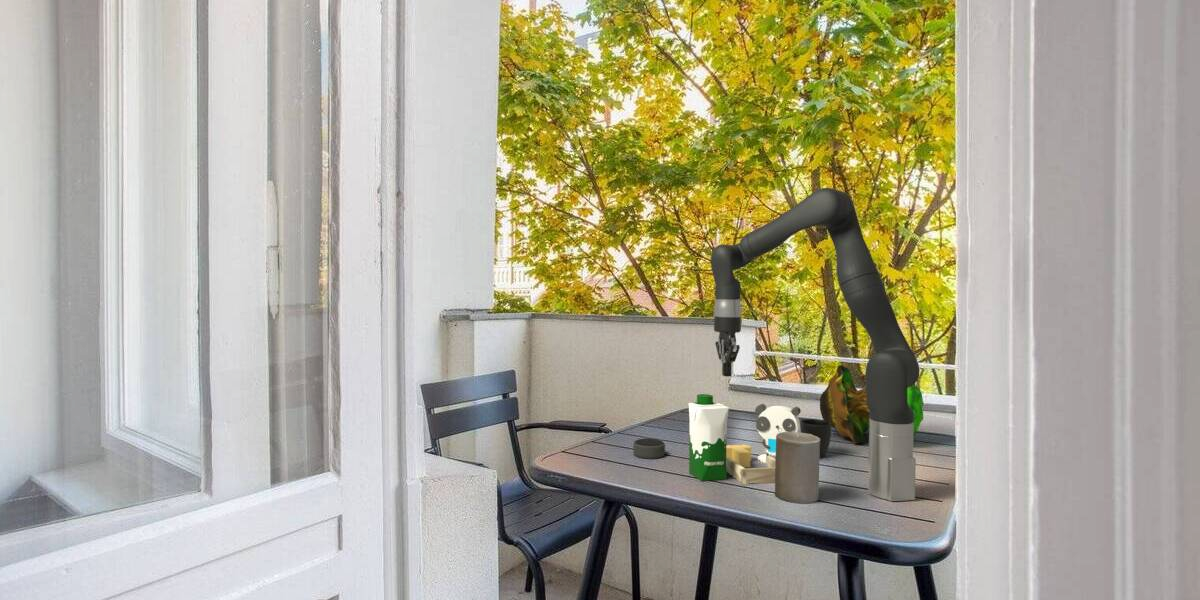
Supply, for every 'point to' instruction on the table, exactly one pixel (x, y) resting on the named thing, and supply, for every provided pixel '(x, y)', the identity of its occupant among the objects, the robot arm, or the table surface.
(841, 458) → the table surface
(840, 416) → the decorative tree
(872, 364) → the robot arm
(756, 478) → the beige shallow open box
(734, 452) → the yellow cheese wedge
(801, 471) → the pillar candle
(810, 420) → the mug
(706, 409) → the milk carton
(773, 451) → the panda figurine
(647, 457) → the smart speaker
